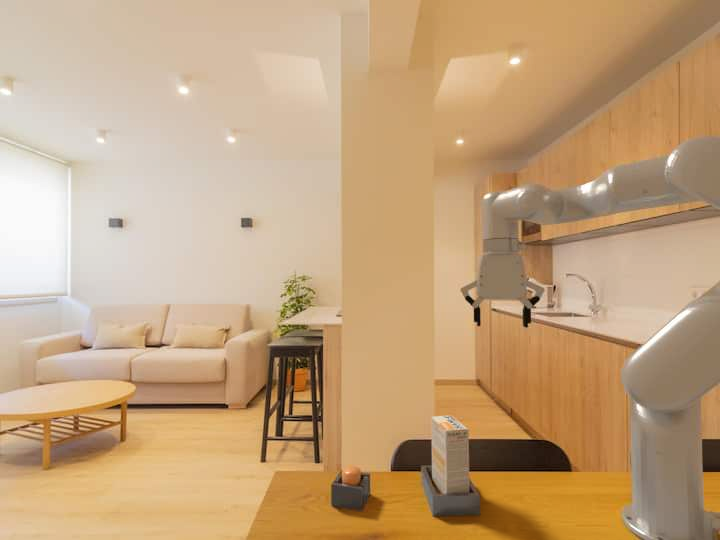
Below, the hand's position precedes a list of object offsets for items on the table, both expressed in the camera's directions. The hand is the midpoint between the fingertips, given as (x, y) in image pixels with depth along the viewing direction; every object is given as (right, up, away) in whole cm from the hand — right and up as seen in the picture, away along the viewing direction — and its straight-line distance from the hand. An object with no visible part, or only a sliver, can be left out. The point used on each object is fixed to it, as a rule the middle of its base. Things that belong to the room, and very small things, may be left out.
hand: (501, 326), depth 85 cm
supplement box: (-14, -31, -9) cm, 35 cm away
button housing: (-33, -32, -10) cm, 47 cm away
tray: (-14, -32, -9) cm, 36 cm away
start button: (-33, -31, -10) cm, 46 cm away
